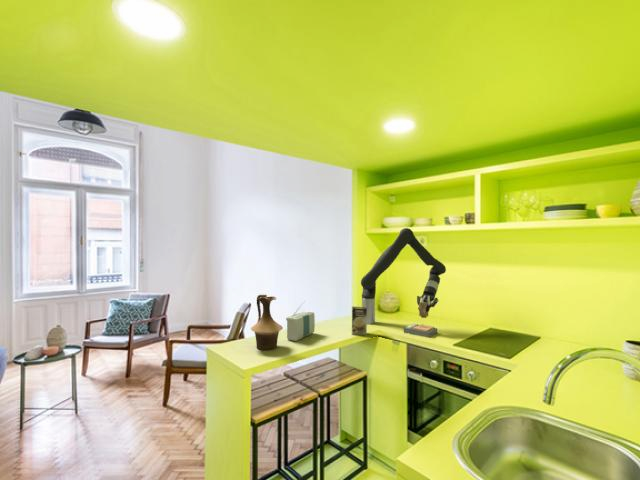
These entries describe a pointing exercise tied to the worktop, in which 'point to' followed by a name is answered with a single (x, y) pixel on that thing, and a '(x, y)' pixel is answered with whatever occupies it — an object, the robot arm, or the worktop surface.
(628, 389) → the worktop surface
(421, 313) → the reddish brown block
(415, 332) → the keypad
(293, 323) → the stereo radio cassette player
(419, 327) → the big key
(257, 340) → the pitcher
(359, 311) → the coffee box
